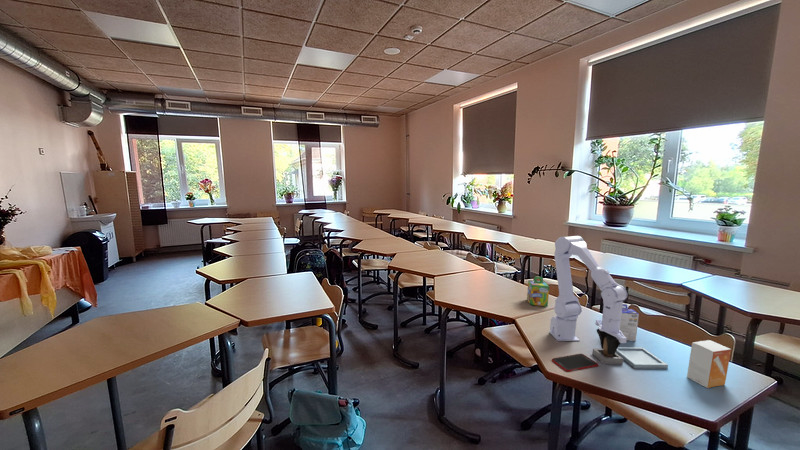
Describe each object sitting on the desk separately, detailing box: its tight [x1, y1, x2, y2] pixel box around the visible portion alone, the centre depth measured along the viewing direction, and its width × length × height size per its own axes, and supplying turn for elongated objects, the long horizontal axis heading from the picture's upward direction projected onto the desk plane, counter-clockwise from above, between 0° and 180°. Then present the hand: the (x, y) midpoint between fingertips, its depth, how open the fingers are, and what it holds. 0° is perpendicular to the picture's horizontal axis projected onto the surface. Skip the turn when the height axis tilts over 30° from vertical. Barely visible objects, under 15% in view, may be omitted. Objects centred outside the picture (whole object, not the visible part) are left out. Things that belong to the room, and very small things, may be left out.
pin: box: [602, 337, 613, 357], centre depth 119 cm, size 3×3×8 cm
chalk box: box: [526, 276, 550, 307], centre depth 173 cm, size 9×9×15 cm
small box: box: [686, 339, 732, 389], centre depth 105 cm, size 8×6×13 cm
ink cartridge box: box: [620, 303, 640, 342], centre depth 135 cm, size 10×6×14 cm, turn 78°
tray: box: [616, 346, 669, 370], centre depth 119 cm, size 12×12×2 cm
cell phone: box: [551, 353, 599, 373], centre depth 116 cm, size 8×15×1 cm, turn 106°
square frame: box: [592, 347, 624, 365], centre depth 119 cm, size 7×7×2 cm
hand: (607, 351), depth 119 cm, fingers closed on pin, 3 cm apart
